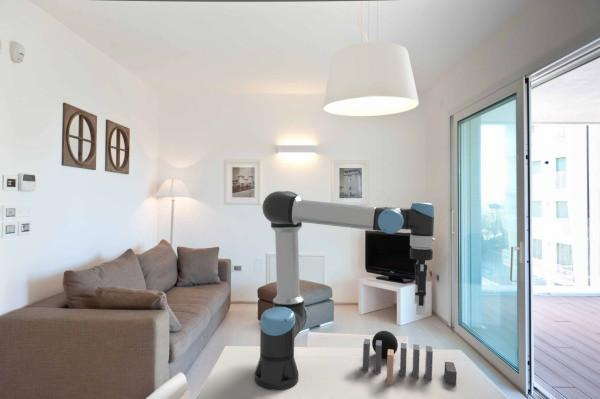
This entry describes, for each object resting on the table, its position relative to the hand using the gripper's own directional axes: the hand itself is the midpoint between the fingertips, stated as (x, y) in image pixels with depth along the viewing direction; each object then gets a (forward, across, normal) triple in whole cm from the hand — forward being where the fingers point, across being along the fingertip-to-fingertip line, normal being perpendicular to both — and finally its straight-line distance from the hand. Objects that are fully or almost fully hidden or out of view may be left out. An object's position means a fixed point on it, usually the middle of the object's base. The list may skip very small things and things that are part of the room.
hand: (419, 309), depth 136 cm
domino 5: (+25, +5, 0) cm, 26 cm away
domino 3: (+25, -2, +9) cm, 27 cm away
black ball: (+26, +18, +12) cm, 33 cm away
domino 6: (+25, +5, -4) cm, 26 cm away
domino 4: (+25, +5, +5) cm, 26 cm away
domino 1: (+25, +5, +18) cm, 31 cm away
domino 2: (+25, +5, +14) cm, 29 cm away
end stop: (+25, +5, -11) cm, 28 cm away
